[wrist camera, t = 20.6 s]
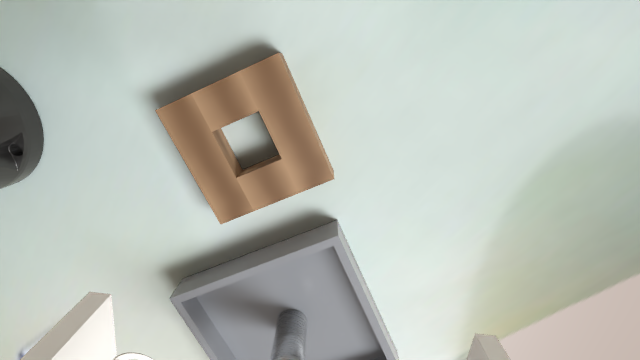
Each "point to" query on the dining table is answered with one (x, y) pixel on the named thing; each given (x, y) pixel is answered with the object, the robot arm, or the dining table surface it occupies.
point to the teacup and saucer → (133, 356)
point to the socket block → (216, 154)
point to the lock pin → (290, 336)
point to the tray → (286, 301)
